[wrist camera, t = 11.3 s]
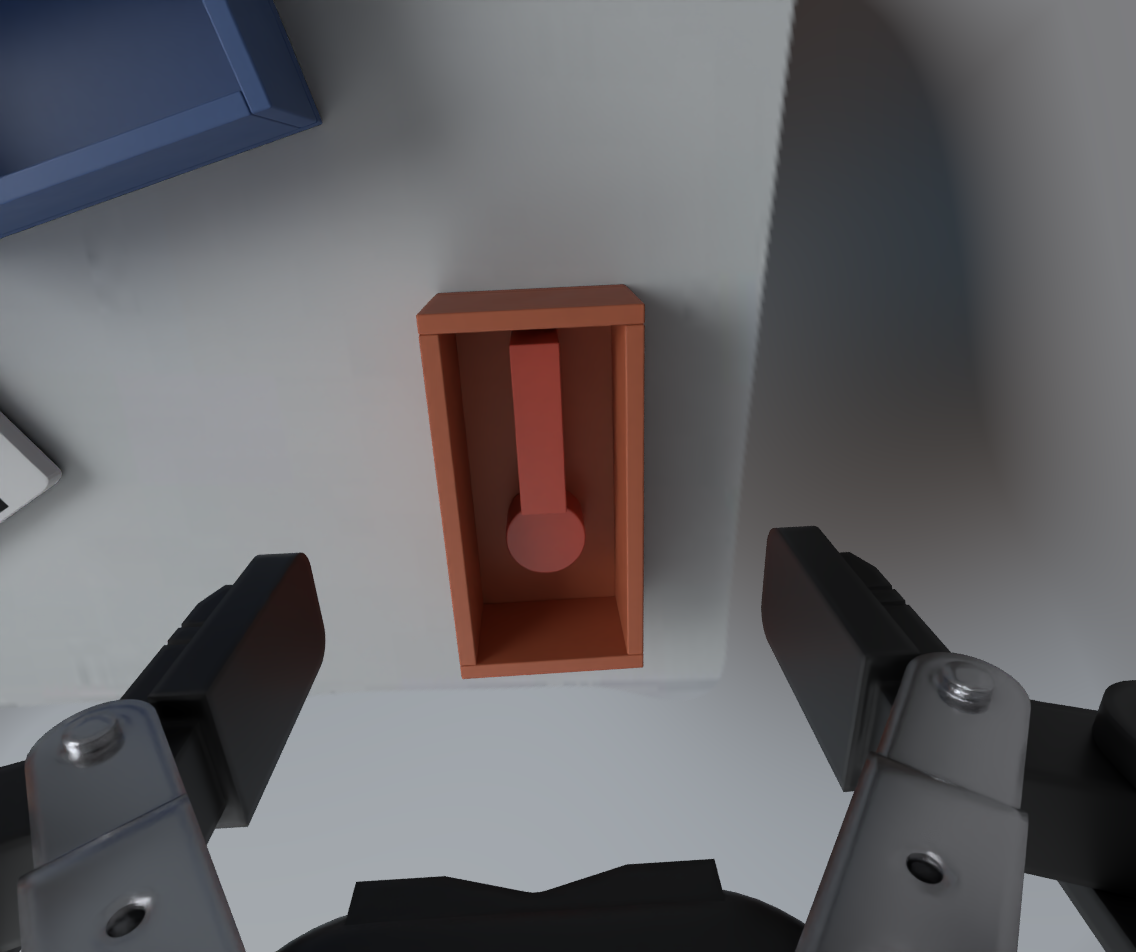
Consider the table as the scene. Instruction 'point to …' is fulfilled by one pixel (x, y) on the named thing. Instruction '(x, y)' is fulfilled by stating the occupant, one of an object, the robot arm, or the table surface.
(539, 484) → the red spoon
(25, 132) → the blue bin
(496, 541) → the orange bin
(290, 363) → the table surface
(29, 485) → the smartphone
